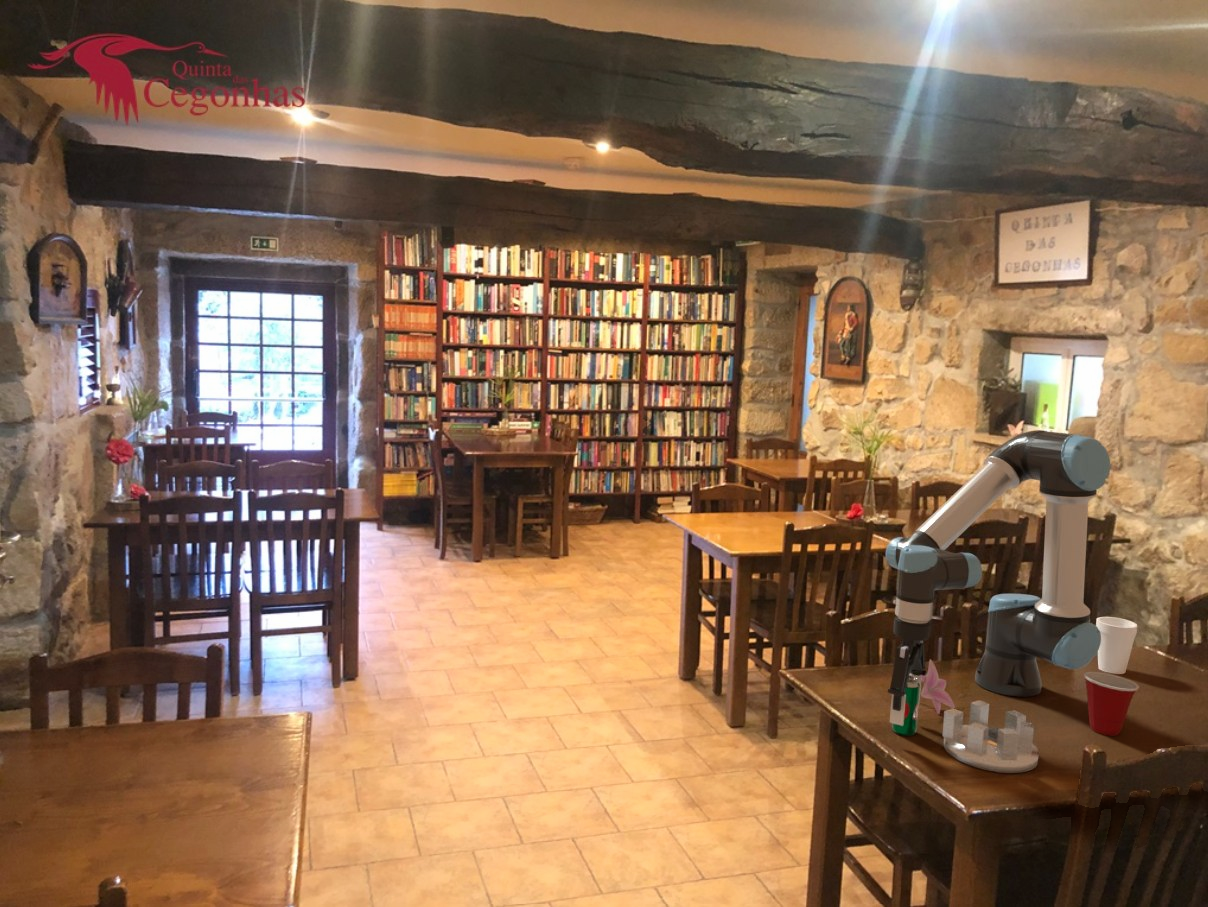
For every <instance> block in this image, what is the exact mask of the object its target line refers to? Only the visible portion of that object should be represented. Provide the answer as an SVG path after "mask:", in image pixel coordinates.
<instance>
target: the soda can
mask: <svg viewBox="0 0 1208 907" xmlns="http://www.w3.org/2000/svg"><path fill="white" fill-rule="evenodd" d="M896 689H899V688H896ZM899 690H900V689H899ZM919 693H920V694H921V691H920V684H919V680H918V679H917V678H915V677H912V676H909V678H908V682H907V686H906V690H905V695H906V701H905V712H904V724H903V726H901V725H897V724H893V723H891V729H892V730H893V731H894V733H895V734H898V735H899V736H905V737H910V736H914V735H915V734H916V733H917V728H918V716H919V706H920V703H919Z"/></svg>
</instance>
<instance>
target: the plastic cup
mask: <svg viewBox="0 0 1208 907" xmlns="http://www.w3.org/2000/svg"><path fill="white" fill-rule="evenodd" d="M1083 677H1084V681H1085V684H1086V685H1085V686H1086V687H1085V688H1086V695H1087V696H1086V697H1087V710H1088V711H1087V712H1088V717H1089V718H1088V719H1089V720H1088V721H1089V727H1090V729H1091V731H1094V733H1097V734H1100V733H1101V734H1100V735H1104V736H1111V737H1112V736H1114V737H1115V736H1119V735H1120V732H1121V731H1122V728H1123V724H1124V721H1125V720H1126V717H1127V714H1128V710H1129V707H1130V705H1131V701H1132V699H1133V698H1134V695H1135V693H1136V691H1138V690H1139V689H1140V686H1139V684H1138V683H1136V682H1135V681H1133V680H1131V679H1127V678H1125V677H1123V676H1118V675H1117V674H1113V673H1108V672H1103V671H1102V672H1101V671H1085V672H1084V673H1083Z"/></svg>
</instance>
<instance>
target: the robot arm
mask: <svg viewBox="0 0 1208 907" xmlns="http://www.w3.org/2000/svg"><path fill="white" fill-rule="evenodd" d="M1108 452H1109V451H1108V450H1107V448H1106V447H1105V445H1103V444H1102V443H1101V442H1100V441H1099V440H1098V439H1096V438H1094V437H1089V436H1084V435H1081V434H1077V433H1065V432H1054V431H1047V430H1043V429H1042V430H1039V429H1036V430H1030V431H1026V432H1023V433H1020V434H1018V435H1015V436H1014V437H1012V438H1010V439H1008V440H1007V441H1005V442H1004V443H1002V444H1001V445H999V446H998V447H997V448H995V449H994V450H993V451H992V452H990V454H988V455H987V456H986V457H985V459H984V460H983V464H982V465H983V466H982V467H981V468H980V469H978V471H977V472H976V473H974V475H973V476H972V477H971V478H970V479H969V480H968V481H966V483H964V484H963V485H962V486H961V487H960V488H959V489H958V490H957V491H955V493H953V495H951V497H949V498H948V499H947V501H946V502H944V503H943V504H942V505H940V507H939V508H937V510H936V511H935V512H934V513H933V514H932V515H931V516H930V517H928V518H927V519H926V520H925V521H924V522H923V523H922V524H921V525H920V526H919V527H918V528H917V529H916V530H915V531H914V532H913V533H912V534H910V536H908V537H902V536H898V537H895V538H893V539H892V540H890V541H889V543H888V544H887V546H886V548H885V559H886V562H887V563H888V565H890V567H892V568H894V569H896V570H897V584H896V597H895V598H896V599H893V602H892V603H893V604H895V610H894V614H895V615H896V616H895V617H894V619H893V629H892V631H893V634H894V635H895V636H896V637H898V638H900V639H901V640H902V641H901V643H900V644H899V645H897V647H896V654H895V661H894V665H893V671H892V676H891V681H890V685H889V686H890V687H889V688H887V693H888V694H891V701H890V712H889V713H890V715H889V723H890V724H892V723H893V724H897V725H901V726H903V724H904V712H905V701H906V695H905V690H906V686H907V682H908V678H909V676H912V677H915V678H917V679H918V680H919V684H920V693H919V704H920V702H921V696H920V694H921V691H922V690H921V689H922V676H920V675H923V676H925V675H927V670H925V669H926V663H925V660H926V659H925V641H927V640H929V639H930V638H931V630H932V622H931V620H932V619H933V611H934V598H935V591H941V590H955V589H956V590H957V589H960V590H963V589H965V588H972V587H975V586H976V585H978V584H979V582H980V581H981V579H982V576H983V567H982V562H981V561H980V559H979V558H978V557H977V556H976V555H974V554H972V553H970V552H962V551H961V552H960V551H959V552H957V553H956V552H955V553H954V552H951V551H947V550H946V549H948V548H949V546H950V545H952V544H953V542H955V540H957V539H958V538H959V537H960V536H961V535H962V534H963V533H964V532H965V531H966V530H967V529H968V528H970V526H971V525H972V524H973V523H974V522H975V521H976V520H978V518H979V517H981V516H982V515H983V514H984V513H985V512H986V511H987V510H988V509H989V508H990V507H991V506H992V505H993V504H994V503H995V502H996V501H997V500H998V499H999V498H1001V497H1002V496H1003V495H1004V494H1005V493H1006V492H1007V491H1008V490H1009V489H1011V490H1012V489H1016V488H1017V487H1018V486H1020V485H1021V484H1022V483H1023V482H1026V481H1029V480H1036V481H1039V491H1038V492H1039V493H1040V494H1041V495H1042V496H1043V498H1045V500H1046V501H1045V502H1046V503H1045V505H1046V506H1045V520H1044V521H1045V522H1044V544H1043V545H1044V546H1043V547H1044V549H1043V566H1042V567H1043V569H1042V590H1041V591H1042V592H1041V593H1042V595H1041V597H1039V596H1036V595H1032V594H1026V593H1025V594H1024V593H1023V594H1022V593H1000V594H996V595H993V596H992V597H991V598H990V601H989V606H988V609H987V622H986V623H987V624H986V636H985V637H986V638H985V639H986V640H985V647H984V648H985V649H984V653H983V655H982V658H981V659H980V661H979V663H978V665H977V667H976V669H975V670H976V671H975V676H974V682H975V683H976V684H977V685H978V686H980V687H982V688H983V689H985V690H987V691H990V692H992V693H996V694H1000V695H1005V696H1010V697H1022V698H1023V697H1035V696H1037V695H1039V694H1041V692H1042V685H1043V684H1042V683H1043V682H1042V679H1041V674H1040V670H1039V667H1038V662H1037V658H1038V659H1041V660H1044V661H1046V662H1049V663H1051V664H1053V665H1054V666H1056V667H1062V668H1065V669H1068V670H1073V671H1075V670H1080V669H1082V668H1084V667H1086V666H1087V665H1088V664H1090V663H1091V662H1092V661H1093V659H1094V658H1095V657H1096V656H1097V655H1098V650H1099V647H1100V643H1101V633H1100V630H1098V627H1097V626H1096V624H1093V622H1091V609H1090V608H1089V607H1088V606H1087V605H1086V604H1085V603H1084V597H1085V596H1084V595H1085V594H1084V593H1085V575H1086V573H1085V572H1086V559H1087V558H1086V557H1087V555H1086V553H1087V536H1088V534H1087V533H1088V516H1089V503H1090V501H1091V500H1093V499H1094V498H1096V496H1097V493H1098V492H1097V490H1099V489H1101V488H1102V487H1104V485H1106V483H1107V480H1106V479H1108V478H1109V477H1110V473H1111V460H1110V455H1109V453H1108ZM896 688H899V689H900V690H899V689H896Z"/></svg>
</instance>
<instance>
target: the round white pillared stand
mask: <svg viewBox="0 0 1208 907" xmlns="http://www.w3.org/2000/svg"><path fill="white" fill-rule="evenodd" d="M989 712H990V703H988V702H986V701H983V700H981V699H979V700H974V701H972V702H970V709H969V719H968V724H964V723H963V722H964V712H963V711H961V710H958V709H956V708H955V709H954V708H950V709H946V710H944V711H943V724H942V725H943V726H942V737H943V748H944V749H945V751H946V752H947V754H949V755H950V756H951V757H953V758H954V759H956V760H957V761H959V762H961V763H963V764H966V765H969V766H972V767H974V768H978V769H981V770H984V771H990V772H996V773H1003V774H1018V773H1019V774H1020V773H1026V772H1030V771H1031V770H1033V769H1035V768H1036V767H1037V766H1038V762H1039V749H1038V747H1037V746H1036V745H1035V744H1034V743H1033V740H1034V730H1035V722H1031V721H1030V722H1029V721H1026V719H1027V715H1025V714H1023V713H1021V712H1019V711H1018V710H1015V709H1013V710H1008V711H1007V710H1006V711H1005V719H1004V728H998V727H994V726H989V725H988V723H989Z"/></svg>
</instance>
